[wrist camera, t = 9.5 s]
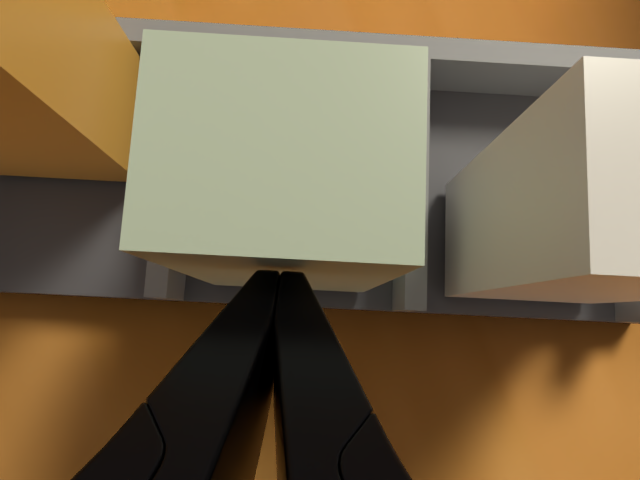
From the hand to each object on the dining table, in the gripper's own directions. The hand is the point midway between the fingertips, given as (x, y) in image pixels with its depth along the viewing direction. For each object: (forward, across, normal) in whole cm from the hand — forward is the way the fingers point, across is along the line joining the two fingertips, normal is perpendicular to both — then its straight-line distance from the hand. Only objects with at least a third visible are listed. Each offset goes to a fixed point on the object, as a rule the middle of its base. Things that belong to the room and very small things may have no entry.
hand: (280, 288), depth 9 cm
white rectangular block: (+6, -7, +3) cm, 10 cm away
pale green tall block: (+6, 0, +3) cm, 7 cm away
